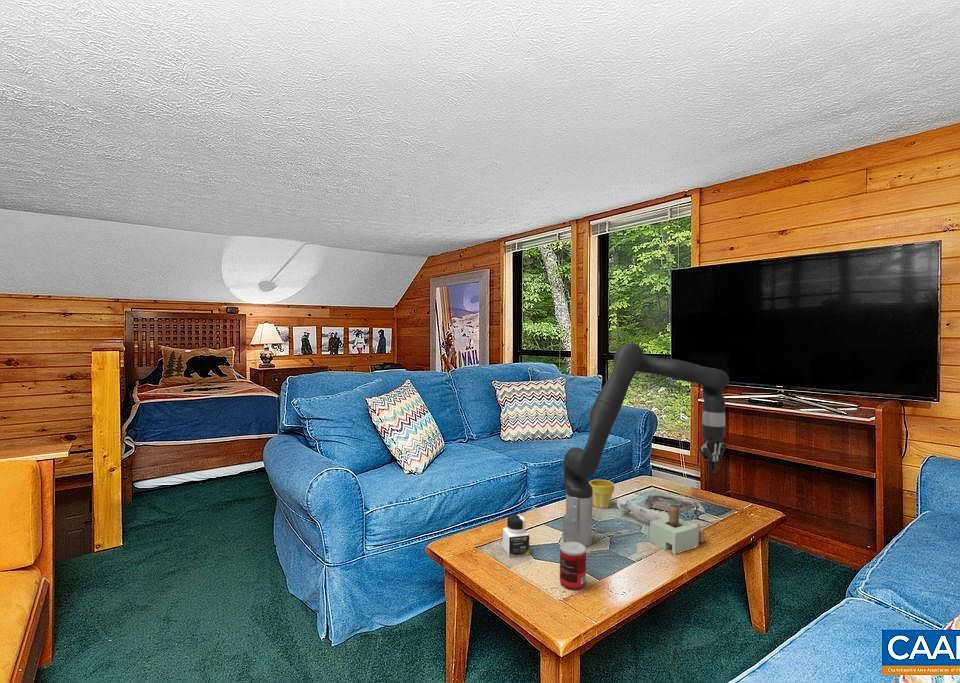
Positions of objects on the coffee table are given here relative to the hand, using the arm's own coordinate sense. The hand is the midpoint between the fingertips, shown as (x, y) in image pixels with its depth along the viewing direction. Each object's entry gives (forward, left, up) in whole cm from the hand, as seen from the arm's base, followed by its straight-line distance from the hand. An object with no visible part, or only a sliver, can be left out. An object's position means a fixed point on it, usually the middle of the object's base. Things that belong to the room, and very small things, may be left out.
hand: (712, 470), depth 176 cm
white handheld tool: (-10, +21, -23) cm, 33 cm away
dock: (-16, +3, -25) cm, 30 cm away
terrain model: (+13, +28, -26) cm, 40 cm away
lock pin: (-11, 0, -25) cm, 27 cm away
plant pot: (-13, +43, -25) cm, 52 cm away
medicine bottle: (-69, +24, -25) cm, 77 cm away
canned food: (-65, -1, -25) cm, 70 cm away
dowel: (-16, +3, -22) cm, 27 cm away
